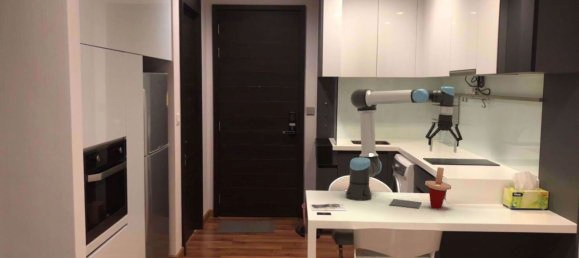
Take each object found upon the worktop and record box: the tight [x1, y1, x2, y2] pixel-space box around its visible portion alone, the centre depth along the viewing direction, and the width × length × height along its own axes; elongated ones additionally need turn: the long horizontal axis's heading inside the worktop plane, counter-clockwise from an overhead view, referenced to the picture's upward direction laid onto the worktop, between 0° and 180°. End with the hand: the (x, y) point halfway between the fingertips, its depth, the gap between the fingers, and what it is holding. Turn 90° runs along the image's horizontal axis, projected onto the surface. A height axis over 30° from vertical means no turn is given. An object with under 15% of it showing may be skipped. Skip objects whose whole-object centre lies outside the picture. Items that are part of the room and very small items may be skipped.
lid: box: [424, 166, 452, 191], centre depth 277 cm, size 14×14×10 cm
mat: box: [388, 198, 422, 210], centre depth 284 cm, size 16×15×1 cm
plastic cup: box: [427, 186, 448, 210], centre depth 278 cm, size 11×11×12 cm
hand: (442, 151), depth 280 cm, fingers open, 13 cm apart
